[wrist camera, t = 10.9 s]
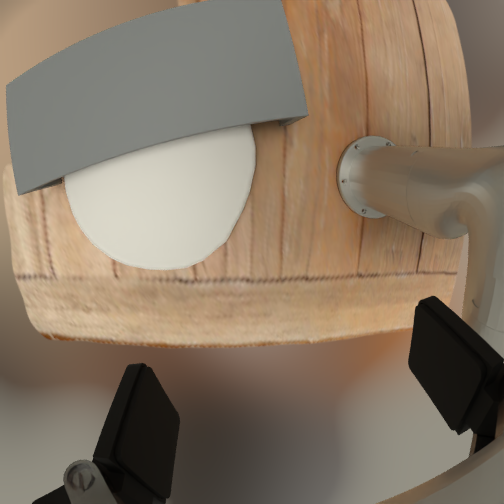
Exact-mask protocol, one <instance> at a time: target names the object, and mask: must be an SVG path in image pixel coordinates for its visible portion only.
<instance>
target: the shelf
mask: <svg viewBox="0 0 504 504" xmlns="http://www.w3.org/2000/svg"><path fill="white" fill-rule="evenodd" d="M6 103H7V121H8V134H9V144H10V151H11V159H12V165H13V171H14V177H15V182H16V187H17V192H18V196H19V195H22V194H26V193H29V192H33V191H36V190H40V189H44V188H48V187H52V186H55V185H58V184H61V183H62V182H61V177H64V176H66V175H69V174H71V173H74V172H76V171H79V170H81V169H84V168H87V167H89V166H92V165H95V164H98V163H100V162H103V161H106V160H109V159H112V158H115V157H118V156H121V155H124V154H127V153H131V152H134V151H137V150H140V149H144V148H147V147H151V146H154V145H158V144H162V143H165V142H169V141H173V140H177V139H181V138H185V137H189V136H194V135H198V134H202V133H207V132H212V131H217V130H222V129H227V128H232V127H238V126H243V125H249V124H255V123H262V122H269V121H276V120H279V123H280V126H284V125H290V124H292V123H294V122H296V121H298V120H300V119H302V118H304V117H306V116H308V110H307V104H306V99H305V94H304V90H303V85H302V80H301V76H300V71H299V67H298V63H297V58H296V54H295V50H294V46H293V42H292V38H291V34H290V31H289V27H288V23H287V20H286V16H285V12H284V9H283V6H282V2H281V0H209V1H203V2H198V3H193V4H188V5H183V6H179V7H175V8H171V9H167V10H163V11H160V12H156V13H153V14H149V15H146V16H143V17H140V18H137V19H134V20H131V21H128V22H125V23H122V24H120V25H117V26H115V27H112V28H109V29H107V30H104V31H102V32H100V33H97V34H95V35H93V36H91V37H88V38H86V39H84V40H82V41H80V42H78V43H76V44H74V45H71V46H69V47H68V48H66V49H64V50H62V51H60V52H58V53H56V54H54V55H53V56H51V57H49V58H47V59H46V60H44V61H42V62H41V63H39V64H37V65H36V66H34V67H33V68H31V69H29V70H28V71H26V72H25V73H23V74H22V75H20V76H19V77H17V78H16V79H14V80H13V81H12V82H10V83H9V84H7V85H6Z"/></svg>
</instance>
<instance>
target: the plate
mask: <svg viewBox="0 0 504 504" xmlns="http://www.w3.org/2000/svg"><path fill="white" fill-rule="evenodd" d="M255 167H256V145H255V141H254V137H253V133H252V128H251V124H249V125H243V126H238V127H232V128H227V129H222V130H217V131H212V132H207V133H202V134H198V135H194V136H189V137H185V138H181V139H177V140H173V141H169V142H165V143H162V144H158V145H154V146H151V147H147V148H144V149H140V150H137V151H134V152H131V153H127V154H124V155H121V156H118V157H115V158H112V159H109V160H106V161H103V162H100V163H98V164H95V165H92V166H89V167H87V168H84V169H81V170H79V171H76V172H74V173H71V174H69V175H66V176H64V180H65V189H66V194H67V197H68V200H69V203H70V207H71V210H72V213H73V215H74V217H75V219H76V221H77V223H78V225H79V227H80V229H81V230H82V231H83V233H84V234H85V235H86V237H87V238H88V239H89V240H90V241H91V243H92V244H93V245H94V246H96V247H97V248H98V249H100V250H101V251H102V252H103V253H105V254H106V255H107V256H109V257H110V258H112V259H114V260H116V261H118V262H120V263H123V264H125V265H128V266H133V267H138V268H143V269H149V270H172V269H181V268H187V267H190V266H192V265H194V264H197V263H199V262H201V261H203V260H204V259H206V258H207V257H208V256H209V255H210V254H212V253H213V252H214V251H215V250H216V249H218V248H219V247H220V246H221V245H222V244H224V243H225V242H226V241H227V239H228V237H229V236H230V234H231V232H232V230H233V228H234V226H235V224H236V222H237V220H238V219H239V217H240V215H241V213H242V211H243V209H244V206H245V204H246V201H247V198H248V196H249V193H250V189H251V185H252V180H253V176H254V171H255Z"/></svg>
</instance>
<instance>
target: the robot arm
mask: <svg viewBox="0 0 504 504" xmlns="http://www.w3.org/2000/svg"><path fill="white" fill-rule="evenodd" d="M386 144H387V146H386ZM355 146H356V149H355V148H354V147H355ZM342 180H343V183H342ZM337 184H338V188H339V192H340V194H341V196H342V199H343V200H344V202H345V203H346V204H347V206H348V207H349V208H350V209H351V210H353V211H354V212H356V213H357V214H359V215H361V216H363V217H367V218H382V217H385V216H389V217H392V218H394V219H396V220H398V221H400V222H403V223H405V224H407V225H409V226H411V227H414V228H416V229H418V230H420V231H422V232H424V233H426V234H429V235H431V236H433V237H436V238H439V239H455V238H458V237H460V236H463V235H465V234H467V233H468V234H469V248H468V255H469V256H468V268H467V277H466V285H465V293H464V301H463V309H462V319H461V318H460V317H459V316H458V315H457V314H455V313H454V312H453V311H452V310H451V309H450V308H449V307H447V306H446V305H445V304H444V303H443V302H442V301H440V300H439V299H438V298H437V297H435V296H431V297H428V298H425V299H423V300H420V301H419V303H418V306H416V308H415V316H414V325H413V333H412V340H411V347H410V353H409V359H408V364H409V368H410V370H411V371H412V373H413V374H414V375H415V377H416V378H417V380H418V381H419V383H420V384H421V386H422V387H423V388H424V390H425V391H426V393H427V394H428V396H429V397H430V398H431V400H432V402H433V403H434V405H435V406H436V408H437V409H438V411H439V412H440V414H441V415H442V417H443V418H444V420H445V421H446V423H447V424H448V426H449V427H450V429H451V430H455V431H456V432H457V434H458V435H460V434H462V433H463V432H465V431H467V430H468V429H470V428H471V430H472V431H473V438H472V443H471V448H470V453H469V457H468V458H467V459H466V460H464V461H462V462H461V463H459V464H458V465H456V466H454V467H453V468H451V469H449V470H447V471H446V472H444V473H442V474H441V475H438V476H436V477H435V478H433V479H431V480H429V481H427V482H425V483H423V484H421V485H419V486H417V487H415V488H413V489H410V490H408V491H406V492H404V493H401V494H399V495H397V496H394V497H392V498H389V499H387V500H384V501H382V502H379V503H376V504H504V363H503V362H504V146H494V147H486V148H443V147H420V146H396V145H395V144H394V143H393V142H392V141H390V140H388V139H386V138H383V137H380V136H365V137H362V138H359V139H357V140H355V141H353V142H352V143H351V144H350V145H349V146H348V147H347V148H346V149H345V151H344V152H343V154H342V156H341V158H340V160H339V164H338V168H337ZM362 209H363V211H362ZM179 424H180V418H179V414H178V413H177V411H176V410H175V408H174V406H173V405H172V403H171V401H170V400H169V398H168V396H167V395H166V393H165V391H164V390H163V388H162V386H161V384H160V383H159V381H158V379H157V377H156V376H155V374H154V372H153V370H152V368H150V367H147V366H146V364H144V363H139V364H129V365H128V366H127V368H126V370H125V373H124V375H123V377H122V380H121V382H120V385H119V387H118V390H117V392H116V395H115V397H114V400H113V402H112V405H111V407H110V410H109V413H108V415H107V418H106V421H105V424H104V426H103V429H102V432H101V435H100V437H99V440H98V443H97V446H96V449H95V452H94V454H93V460H92V462H91V461H89V460H78V461H75V462H73V463H72V464H70V465H69V467H68V468H67V469H66V471H65V473H64V478H63V481H64V485H63V486H61V487H59V488H58V489H56V490H54V491H52V492H50V493H48V494H46V495H45V496H43V497H41V498H39V499H37V500H35V501H34V502H33V503H32V504H165V503H166V498H169V497H170V493H171V484H172V477H173V468H174V460H175V453H176V446H177V439H178V431H179Z"/></svg>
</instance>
